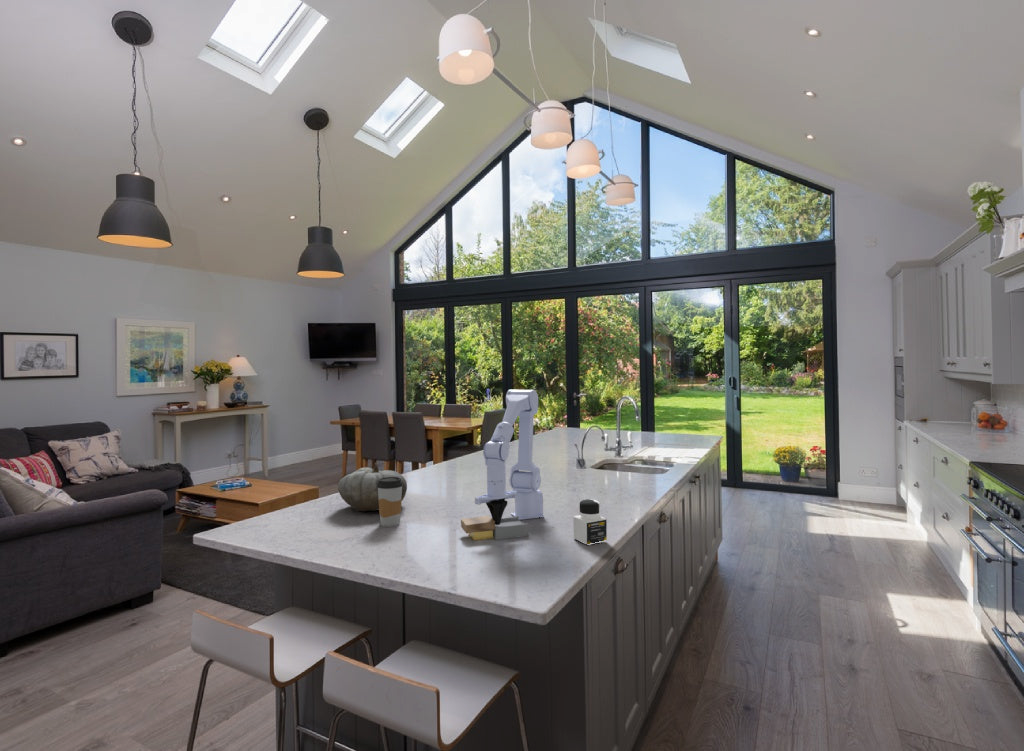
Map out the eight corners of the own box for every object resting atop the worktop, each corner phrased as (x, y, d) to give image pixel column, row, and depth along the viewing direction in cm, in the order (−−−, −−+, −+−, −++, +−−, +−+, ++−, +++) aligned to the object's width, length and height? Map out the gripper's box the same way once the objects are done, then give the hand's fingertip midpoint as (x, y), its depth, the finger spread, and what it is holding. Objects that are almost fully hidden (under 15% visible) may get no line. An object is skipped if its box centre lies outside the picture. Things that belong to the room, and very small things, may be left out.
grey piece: (518, 527, 177) (518, 516, 177) (528, 535, 169) (528, 523, 169) (487, 531, 174) (487, 519, 174) (496, 539, 165) (496, 527, 165)
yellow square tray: (487, 532, 172) (487, 525, 172) (493, 538, 166) (493, 530, 166) (468, 534, 170) (468, 527, 170) (474, 540, 164) (473, 532, 164)
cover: (489, 523, 173) (488, 515, 173) (495, 529, 167) (494, 521, 166) (461, 526, 171) (460, 518, 170) (466, 533, 164) (465, 525, 164)
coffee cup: (408, 522, 185) (407, 477, 184) (392, 529, 177) (392, 482, 177) (388, 519, 188) (387, 475, 188) (372, 526, 181) (371, 480, 180)
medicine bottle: (587, 546, 158) (586, 504, 158) (573, 539, 165) (572, 499, 165) (607, 542, 162) (606, 501, 161) (592, 535, 168) (592, 496, 168)
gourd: (339, 513, 186) (343, 461, 189) (332, 508, 209) (336, 462, 212) (412, 513, 196) (415, 463, 199) (398, 508, 218) (401, 464, 221)
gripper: (508, 475, 177) (508, 517, 177) (469, 481, 169) (469, 525, 169) (521, 478, 171) (521, 522, 172) (481, 485, 163) (482, 530, 163)
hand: (496, 524), depth 170 cm, fingers closed
